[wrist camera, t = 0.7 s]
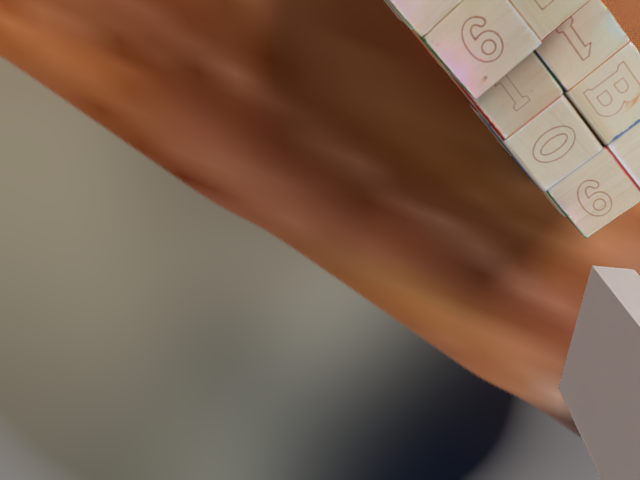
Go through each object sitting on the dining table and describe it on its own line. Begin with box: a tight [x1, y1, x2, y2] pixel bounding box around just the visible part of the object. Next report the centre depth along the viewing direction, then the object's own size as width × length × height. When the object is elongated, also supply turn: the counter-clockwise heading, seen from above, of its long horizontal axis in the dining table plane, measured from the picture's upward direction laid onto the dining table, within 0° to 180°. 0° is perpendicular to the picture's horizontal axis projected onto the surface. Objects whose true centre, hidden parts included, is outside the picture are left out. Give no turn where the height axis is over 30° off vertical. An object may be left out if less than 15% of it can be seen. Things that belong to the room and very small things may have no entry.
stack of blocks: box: [384, 0, 640, 238], centre depth 27 cm, size 21×6×12 cm, turn 42°
